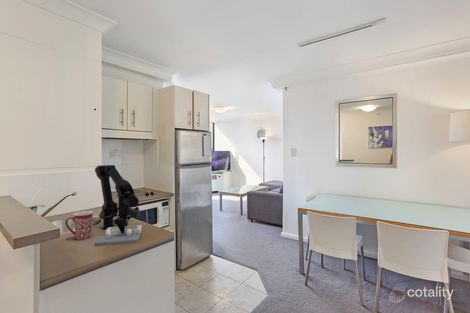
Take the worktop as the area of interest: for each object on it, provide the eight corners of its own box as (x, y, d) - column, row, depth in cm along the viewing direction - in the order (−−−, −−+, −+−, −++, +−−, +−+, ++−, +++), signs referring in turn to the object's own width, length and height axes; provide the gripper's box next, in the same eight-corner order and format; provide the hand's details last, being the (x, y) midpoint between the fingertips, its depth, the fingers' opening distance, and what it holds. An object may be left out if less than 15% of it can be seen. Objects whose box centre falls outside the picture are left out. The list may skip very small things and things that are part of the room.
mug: (94, 233, 130) (94, 210, 130) (91, 239, 121) (91, 214, 121) (68, 236, 125) (68, 212, 125) (63, 242, 117) (62, 216, 116)
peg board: (101, 238, 122) (101, 228, 122) (140, 235, 127) (140, 225, 127) (94, 246, 112) (94, 235, 112) (137, 242, 117) (137, 231, 117)
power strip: (108, 232, 131) (108, 227, 131) (141, 229, 136) (141, 225, 136) (105, 236, 125) (105, 231, 125) (139, 233, 129) (139, 228, 129)
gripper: (135, 207, 123) (135, 236, 123) (141, 200, 141) (141, 225, 141) (113, 209, 120) (113, 237, 121) (122, 201, 138) (122, 226, 139)
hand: (124, 231), depth 130 cm, fingers closed on power strip, 6 cm apart
